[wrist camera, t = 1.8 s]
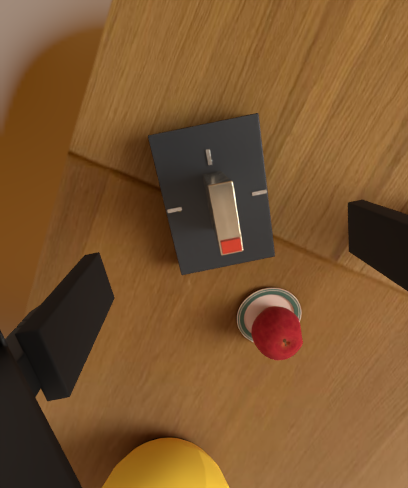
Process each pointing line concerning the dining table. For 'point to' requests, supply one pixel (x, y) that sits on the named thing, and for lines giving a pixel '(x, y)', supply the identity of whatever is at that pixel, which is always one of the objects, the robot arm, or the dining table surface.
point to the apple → (272, 322)
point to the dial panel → (194, 195)
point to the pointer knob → (223, 212)
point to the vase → (166, 467)
